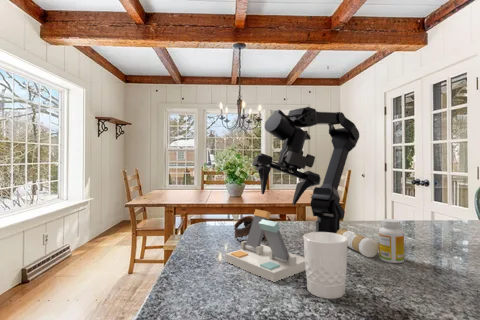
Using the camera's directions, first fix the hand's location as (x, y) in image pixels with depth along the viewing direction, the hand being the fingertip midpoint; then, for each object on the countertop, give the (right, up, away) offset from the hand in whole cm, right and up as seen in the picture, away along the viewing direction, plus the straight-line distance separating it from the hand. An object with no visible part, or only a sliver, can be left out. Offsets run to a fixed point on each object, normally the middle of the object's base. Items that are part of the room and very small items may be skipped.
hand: (278, 199), depth 76 cm
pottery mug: (-7, -14, +13) cm, 21 cm away
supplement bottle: (+27, -14, -8) cm, 31 cm away
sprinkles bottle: (+20, -12, +7) cm, 24 cm away
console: (-4, -14, -10) cm, 18 cm away
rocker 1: (-8, -11, -7) cm, 15 cm away
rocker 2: (-1, -11, -14) cm, 18 cm away
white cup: (+6, -14, -24) cm, 28 cm away
